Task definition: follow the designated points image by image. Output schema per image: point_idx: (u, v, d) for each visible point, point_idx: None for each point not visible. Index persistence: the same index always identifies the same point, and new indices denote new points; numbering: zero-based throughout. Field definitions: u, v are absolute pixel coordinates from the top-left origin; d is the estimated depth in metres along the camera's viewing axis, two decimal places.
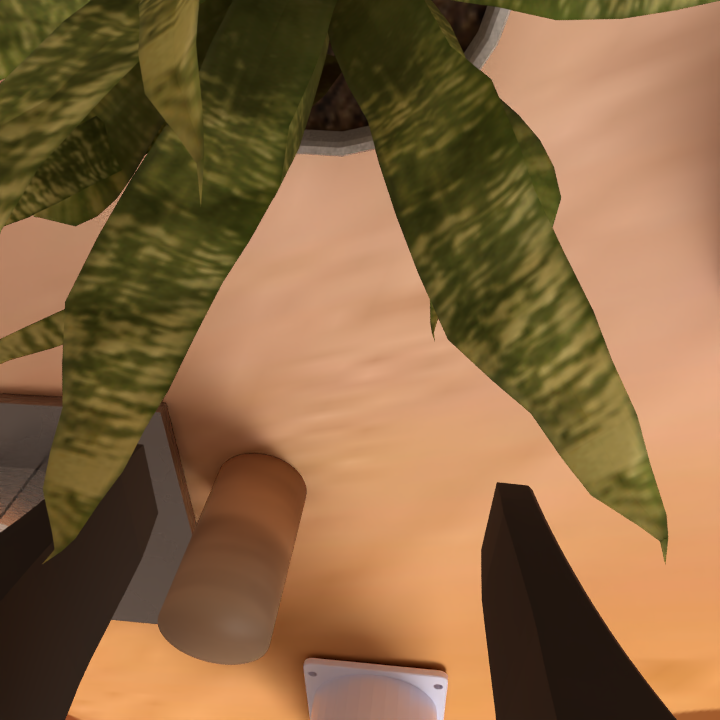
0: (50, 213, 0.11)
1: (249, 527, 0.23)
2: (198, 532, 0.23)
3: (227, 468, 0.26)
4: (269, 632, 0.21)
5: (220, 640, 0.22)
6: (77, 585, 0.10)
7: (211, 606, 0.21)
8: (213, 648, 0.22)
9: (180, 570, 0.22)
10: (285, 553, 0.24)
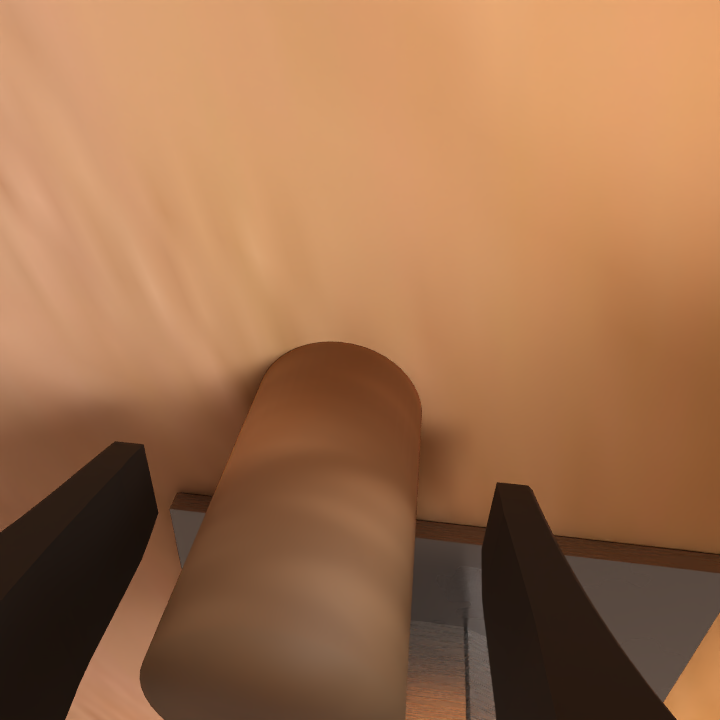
0: None
1: (210, 502, 0.12)
2: None
3: None
4: (254, 619, 0.08)
5: (300, 704, 0.09)
6: (77, 585, 0.10)
7: (168, 686, 0.09)
8: None
9: None
10: (278, 460, 0.11)
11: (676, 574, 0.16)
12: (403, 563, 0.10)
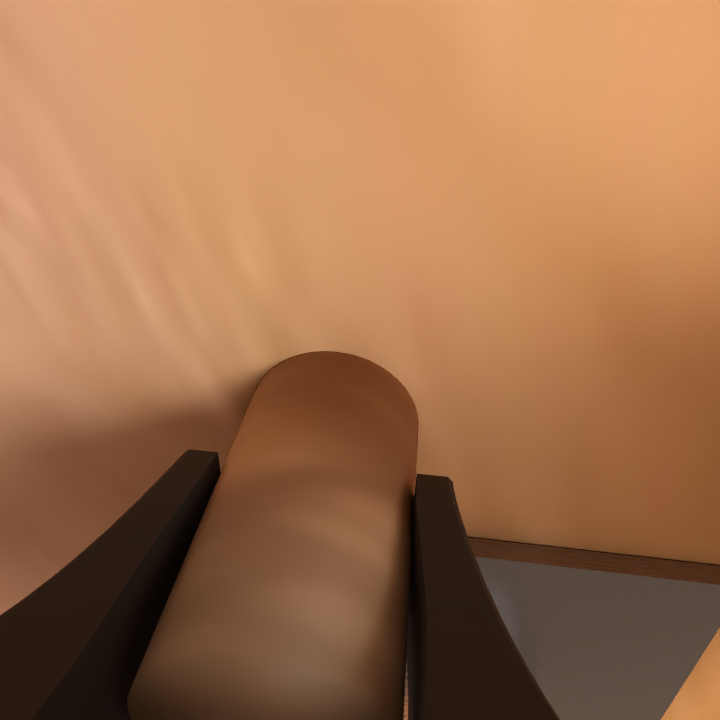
0: None
1: None
2: None
3: None
4: (245, 647, 0.08)
5: None
6: (164, 596, 0.10)
7: (157, 713, 0.09)
8: None
9: None
10: (271, 476, 0.10)
11: (677, 585, 0.16)
12: (400, 584, 0.10)
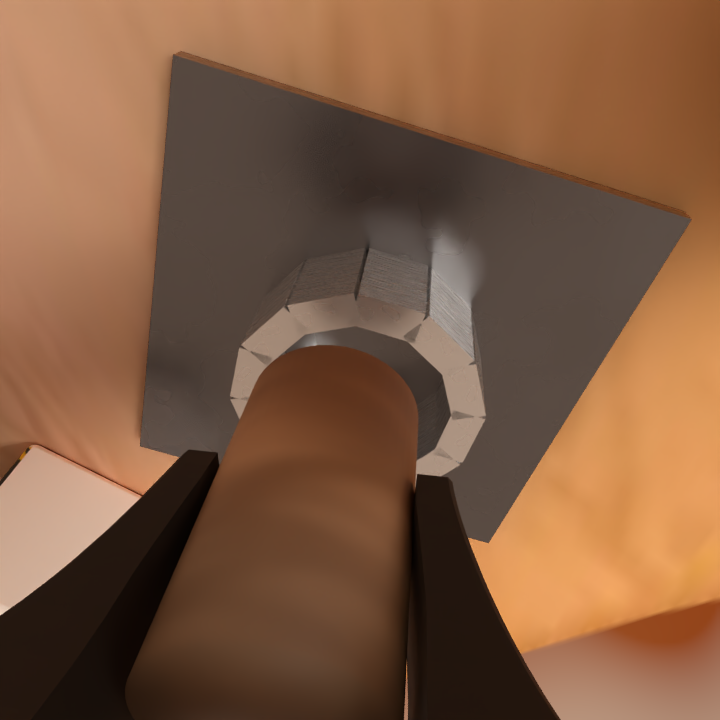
0: None
1: (199, 512, 0.11)
2: None
3: None
4: (240, 633, 0.08)
5: None
6: None
7: (156, 704, 0.09)
8: None
9: None
10: (267, 467, 0.10)
11: (636, 210, 0.17)
12: (399, 571, 0.10)
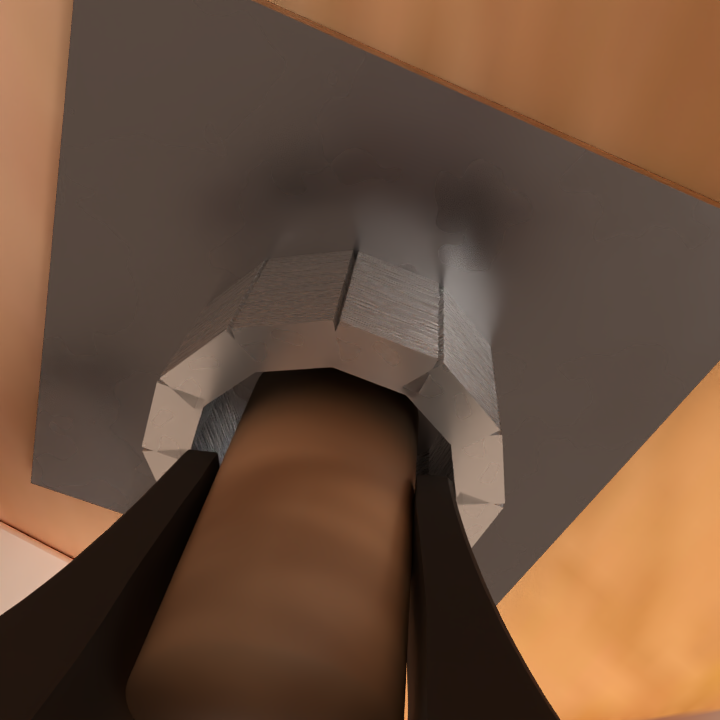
0: None
1: (200, 513, 0.11)
2: None
3: None
4: (240, 633, 0.08)
5: None
6: None
7: (156, 705, 0.09)
8: None
9: None
10: (267, 467, 0.10)
11: None
12: (399, 572, 0.10)
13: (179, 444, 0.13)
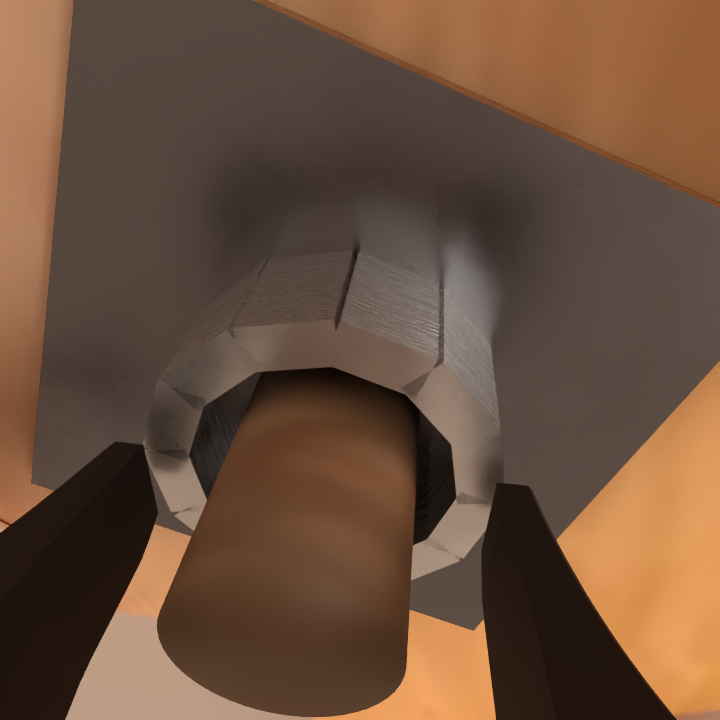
0: None
1: (219, 471, 0.12)
2: None
3: None
4: (262, 566, 0.09)
5: (307, 649, 0.10)
6: (77, 585, 0.10)
7: (184, 635, 0.10)
8: (342, 665, 0.10)
9: None
10: (282, 427, 0.11)
11: None
12: (403, 521, 0.11)
13: (179, 444, 0.13)
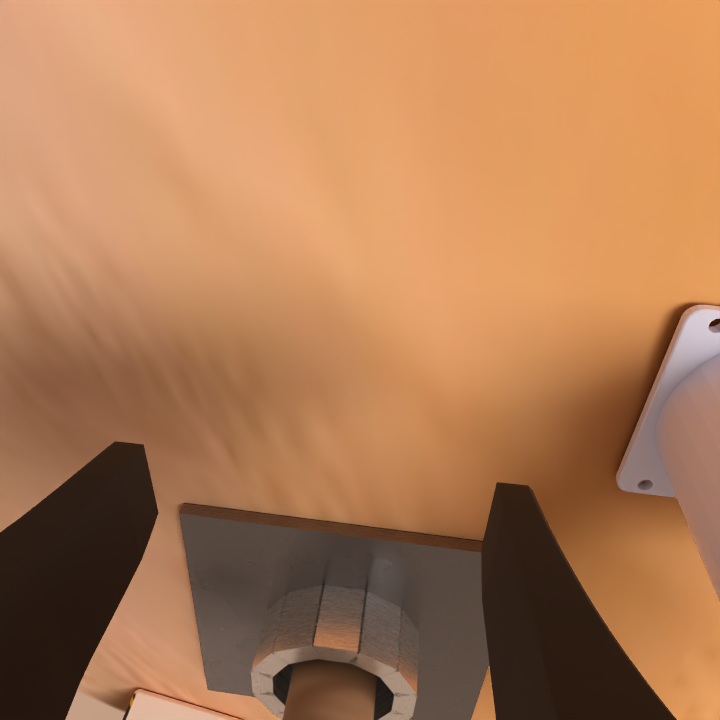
0: None
1: (285, 706, 0.28)
2: None
3: None
4: None
5: None
6: (77, 585, 0.10)
7: None
8: None
9: None
10: (303, 690, 0.27)
11: None
12: None
13: (267, 690, 0.29)
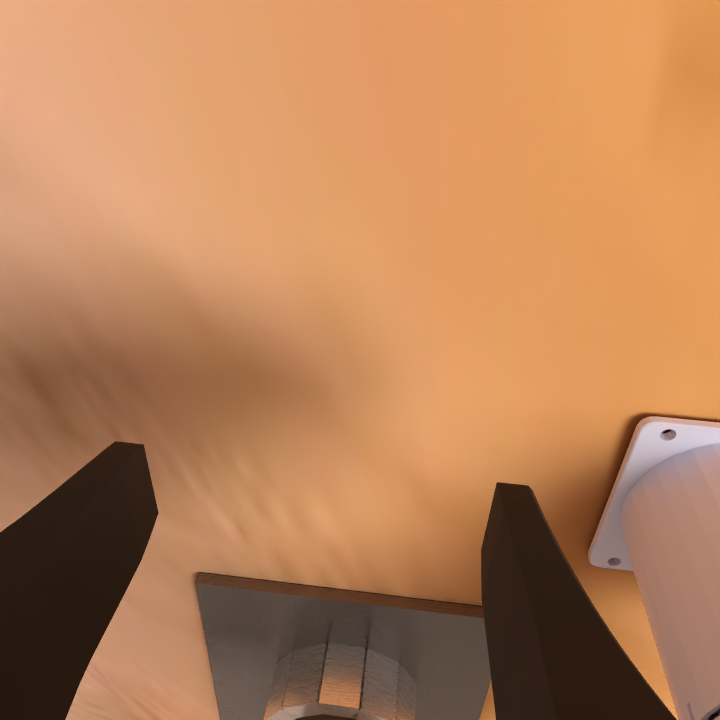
0: None
1: None
2: None
3: None
4: None
5: None
6: (77, 585, 0.10)
7: None
8: None
9: None
10: None
11: (473, 620, 0.29)
12: None
13: None
